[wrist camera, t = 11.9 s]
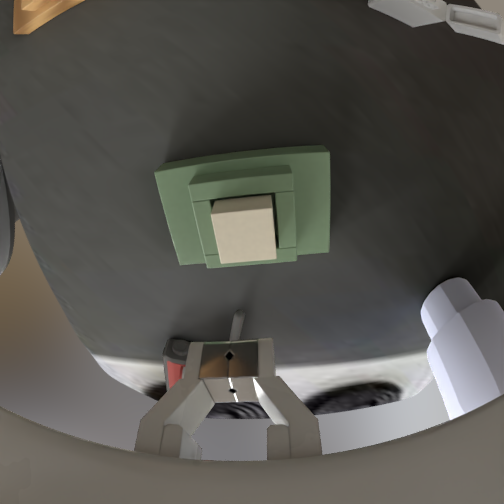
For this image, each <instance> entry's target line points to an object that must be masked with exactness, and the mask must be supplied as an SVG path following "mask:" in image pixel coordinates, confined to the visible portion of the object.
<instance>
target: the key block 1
mask: <svg viewBox="0 0 504 504" xmlns="http://www.w3.org/2000/svg"><path fill="white" fill-rule="evenodd" d="M83 1H85V0H14V19H13V32H14V34H30V33H31V32H32V31H34V30H35V29H37V28H38V27H40V26H41V25H43V24H44V23H46V22H48V21H49V20H51V19H52V18H54V17H56V16H57V15H59V14H61V13H62V12H64V11H66V10H68V9H70V8H71V7H73V6H75V5H77V4H79V3H81V2H83Z"/></svg>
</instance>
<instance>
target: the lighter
mask: <svg viewBox="0 0 504 504" xmlns="http://www.w3.org/2000/svg"><path fill="white" fill-rule="evenodd" d="M367 5H368V6H369V7H370V8H373V9H375V10H378V11H380V12H382V13H384V14H387V15H389V16H391V17H393V18H395V19H397V20H400V21H402V22H404V23H406V24H408V25H410V26H411V27H417V26H421V25H426V24H431V23H436V22H442V21H446V22H447V23H448V24H449V25H450V26H451V27H452V28H453V29H454V31H455V32H458V33H463V34H467V35H471V36H475V37H479V38H483V39H486V40H490V41H493V42H497V43H500V44H503V45H504V21H503V19H502V17H501V16H500V15H499V14H498V13H494V12H490V11H485V10H481V9H476V8H471V7H466V6H460V5H453V4H449V5H447V4H446V3H445V2H444V1H442V0H368V4H367Z"/></svg>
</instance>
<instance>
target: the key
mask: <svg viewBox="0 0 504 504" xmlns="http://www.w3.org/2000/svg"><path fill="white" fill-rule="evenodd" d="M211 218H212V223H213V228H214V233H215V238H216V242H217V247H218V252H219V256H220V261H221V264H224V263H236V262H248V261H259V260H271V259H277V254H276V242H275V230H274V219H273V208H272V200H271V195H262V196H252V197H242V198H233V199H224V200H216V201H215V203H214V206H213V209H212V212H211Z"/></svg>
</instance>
